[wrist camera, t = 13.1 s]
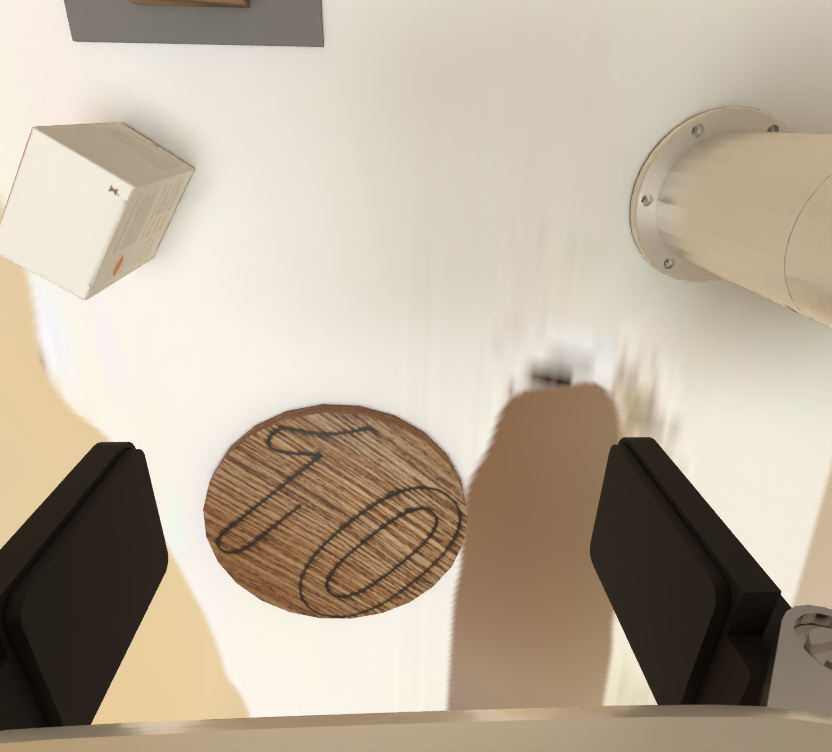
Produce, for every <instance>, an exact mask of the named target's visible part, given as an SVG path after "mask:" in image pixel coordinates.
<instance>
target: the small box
mask: <svg viewBox="0 0 832 752" xmlns="http://www.w3.org/2000/svg"><path fill="white" fill-rule="evenodd" d="M193 171H194V168H193V167H191V166H190V165H188V164H186V163H185V162H183V161H182V160H180V159H178V158H177V157H175V156H174V155H172V154H171V153H169V152H167V151H166V150H164V149H163V148H161V147H159V146H158V145H156V144H155V143H153V142H152V141H150V140H148V139H147V138H145V137H144V136H142V135H140V134H139V133H137V132H136V131H134V130H133V129H131V128H129V127H128V126H126V125H125V124H123V123H121V122H116V123H95V124H76V125H54V126H38V127H32V130H31V133H30V136H29V139H28V142H27V145H26V147H25V150H24V153H23V156H22V159H21V162H20V165H19V168H18V171H17V174H16V177H15V181H14V183H13V186H12V189H11V192H10V195H9V198H8V201H7V204H6V207H5V210H4V213H3V216H2V218H1V221H0V255H1V256H3V257H5V258H7V259H9V260H11V261H12V262H14V263H16V264H18V265H20V266H22V267H24V268H26V269H27V270H29V271H31V272H33V273H35V274H37V275H39V276H40V277H42V278H44V279H46V280H48V281H50V282H52V283H53V284H55V285H57V286H59V287H61V288H63V289H65V290H66V291H68V292H70V293H72V294H74V295H76V296H78V297H79V298H81V299H83V300H87V299H89V298H91V297H92V296H94V295H95V294H97V293H99V292H100V291H102V290H103V289H105V288H106V287H108V286H110V285H111V284H113V283H114V282H116V281H118V280H119V279H121V278H122V277H124V276H126V275H127V274H129V273H130V272H132V271H133V270H135V269H137V268H138V267H140V266H141V265H143V264H145V263H146V262H148V261H149V260H151V259H152V258H153V257H154V254H155V252H156V250H157V248H158V246H159V244H160V241H161V239H162V237H163V235H164V233H165V231H166V229H167V227H168V224H169V222H170V220H171V218H172V216H173V214H174V211H175V209H176V207H177V205H178V203H179V201H180V199H181V196H182V194H183V192H184V190H185V188H186V186H187V184H188V182H189V179H190V177H191V175H192V173H193Z"/></svg>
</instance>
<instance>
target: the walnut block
mask: <svg viewBox="0 0 832 752" xmlns="http://www.w3.org/2000/svg"><path fill="white" fill-rule="evenodd" d="M128 1H130V2H132V3H134V4H136V5H150V6H190V7H230V8H250V2H249V0H128Z"/></svg>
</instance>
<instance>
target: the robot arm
mask: <svg viewBox="0 0 832 752" xmlns="http://www.w3.org/2000/svg"><path fill="white" fill-rule="evenodd" d="M693 127H694V128H695V130H694V132H693V133H692V129H693ZM643 196H645V199H644V201H643V202H641V199H642V197H643ZM630 220H631V227H632V234H633V236H634V239H635V242H636V244H637V247H638V249H639V250H640V252H641V253H642V255H643V256H644V258H645V259H646V260H647V261H648V262H649V263H650V264H651V265H652V266H653V267H654V268H656V269H658V270H659V271H661V272H663V273H664V274H666V275H669V276H671V277H673V278H675V279H679V280H684V281H688V282H707V281H713V280H718V279H722V278H724V279H726V280H728V281H730V282H733V283H735V284H737V285H739V286H741V287H743V288H745V289H748V290H750V291H752V292H754V293H756V294H758V295H760V296H763V297H765V298H767V299H769V300H771V301H773V302H775V303H778V304H780V305H782V306H784V307H786V308H788V309H790V310H793V311H795V312H797V313H799V314H801V315H804V316H806V317H808V318H810V319H812V320H815V321H817V322H819V323H821V324H824V325H826V326H828V327H830V328H832V134H812V133H790V131H789V130H788V129H787V128H786V126H785V125H784V124H783V123H782V122H780V121H779V120H778V119H776V118H775V117H774V116H772V115H771V114H768V113H766V112H763V111H761V110H758V109H753V108H745V107H725V108H720V109H715V110H710V111H707V112H705V113H702V114H700V115H697V116H695V117H692V118H691V119H689V120H687V121H686V122H684V123H683V124H681V125H679V126H678V127H676V128H675V129H674V130H673V131H672V132H671V133H670V134H668V135H667V136H666V137H665V138H664V139H663V140H662V141H661V142H660V143H659V145H658V146H657V147H656V148H655V149H654V151H653V152H652V153H651V154H650V156H649V158H648V159H647V161H646V163H645V164H644V166H643V168H642V169H641V171H640V174H639V176H638V179H637V181H636V184H635V187H634V191H633V196H632V200H631V213H630ZM666 259H667V261H666V262H665V260H666ZM664 262H665V263H664ZM590 556H591V560H592V563H593V566H594V568H595V570H596V572H597V574H598V576H599V578H600V581H601V583H602V585H603V587H604V589H605V592H606V594H607V596H608V598H609V600H610V602H611V605H612V607H613V609H614V611H615V613H616V615H617V618H618V620H619V622H620V624H621V626H622V628H623V631H624V633H625V635H626V637H627V639H628V641H629V644H630V646H631V648H632V650H633V652H634V654H635V657H636V659H637V661H638V663H639V665H640V667H641V670H642V672H643V674H644V676H645V678H646V680H647V683H648V685H649V687H650V689H651V691H652V693H653V696H654V698H655V700H656V702H657V704H658V705H633V706H593V707H557V708H523V709H490V710H489V709H488V710H456V711H426V712H397V713H368V714H340V715H313V716H285V717H260V718H236V719H212V720H188V721H187V720H186V721H164V722H163V721H162V722H138V723H116V724H101V725H100V724H98V725H91V723H92V721H93V719H94V717H95V715H96V713H97V711H98V709H99V707H100V705H101V702H102V701H103V699H104V696H105V694H106V692H107V690H108V688H109V686H110V684H111V682H112V680H113V678H114V676H115V674H116V672H117V670H118V668H119V666H120V664H121V662H122V660H123V658H124V656H125V654H126V652H127V650H128V648H129V646H130V644H131V642H132V639H133V637H134V635H135V633H136V631H137V629H138V627H139V625H140V623H141V621H142V619H143V617H144V615H145V613H146V611H147V609H148V606H149V605H150V603H151V601H152V599H153V597H154V595H155V593H156V591H157V589H158V587H159V584H160V583H161V581H162V578H163V576H164V574H165V572H166V569H167V565H168V551H167V547H166V543H165V539H164V534H163V530H162V526H161V522H160V517H159V513H158V509H157V505H156V500H155V496H154V492H153V488H152V484H151V479H150V475H149V471H148V467H147V462H146V458H145V455H144V452H143V451H142V450H140V449H136V448H135V446H134V445H133V444H132V443H130V442H100V443H97V444H96V445H94V446H93V447H92V449H91V450H90V451H89V452H88V453H87V454H86V455H85V456H84V457H83V459H82V460H81V461H80V462H79V463H78V464H77V465H76V466H75V467H74V469H73V470H72V471H71V472H70V473H69V474H68V475H67V476H66V477H65V479H64V480H63V481H62V482H61V483H60V484H59V485H58V487H57V488H56V489H55V490H54V491H53V492H52V493H51V494H50V495H49V496H48V498H46V500H45V501H44V502H43V503H42V504H41V505H40V506H39V507H38V508H37V510H36V511H35V512H34V513H33V514H32V515H31V516H30V517H29V518H28V519H27V521H26V522H25V523H24V524H23V525H22V526H21V527H20V528H19V529H18V531H17V532H16V533H15V534H14V535H13V536H12V537H11V538H10V540H9V541H8V542H7V543H6V544H5V545H4V546H3V547H2V548H1V549H0V752H832V610H831V609H828V608H825V607H819V606H812V605H804V606H795V607H793V608H791V607H790V605H789V604H788V603H787V602H786V600H785V599H784V598H783V597H782V596H781V590H780V589H779V588H778V587H777V586H776V584H775V583H774V582H773V581H772V580H771V578H770V577H769V576H768V575H767V574H766V572H765V571H764V570H763V569H762V568H761V566H760V565H759V564H758V563H757V562H756V560H755V559H754V558H753V557H752V556H751V555H750V553H749V552H748V551H747V550H746V549H745V547H744V546H743V545H742V544H741V543H740V541H739V540H738V539H737V538H736V537H735V535H734V534H733V533H732V532H731V531H730V529H729V528H728V527H727V526H726V525H725V523H724V522H723V521H722V520H721V519H720V517H719V516H718V515H717V514H716V513H715V511H714V510H713V509H712V508H711V507H710V505H709V504H708V503H707V502H706V501H705V499H704V498H703V497H702V496H701V495H700V493H699V492H698V491H697V490H696V489H695V487H694V486H693V485H692V484H691V483H690V481H689V480H688V479H687V478H686V477H685V476H684V474H683V473H682V472H681V471H680V470H679V468H678V467H677V466H676V465H675V464H674V462H673V461H672V460H671V459H670V458H669V456H668V455H667V454H666V453H665V452H664V450H663V449H662V448H661V447H660V446H659V444H658V443H657V442H656V441H655V440H654V439H653V438H650V437H624V438H622V439H621V440H620V441H619V443H618V445H613V446H612V447H611V449H610V452H609V457H608V462H607V466H606V471H605V476H604V481H603V486H602V490H601V496H600V500H599V505H598V510H597V515H596V520H595V524H594V529H593V534H592V539H591V544H590Z"/></svg>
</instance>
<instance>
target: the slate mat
mask: <svg viewBox="0 0 832 752" xmlns="http://www.w3.org/2000/svg"><path fill="white" fill-rule="evenodd" d="M249 2H250V8H230V7H190V6H150V5H136V4H134V3H132V2H130V1H128V0H64V3H65V8H66V12H67V17H68V21H69V26H70V30H71V35H72V39H73V41H77V42H124V43H171V44H218V45H265V46H311V47H324V46H323V27H322V8H321V0H249Z"/></svg>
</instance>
